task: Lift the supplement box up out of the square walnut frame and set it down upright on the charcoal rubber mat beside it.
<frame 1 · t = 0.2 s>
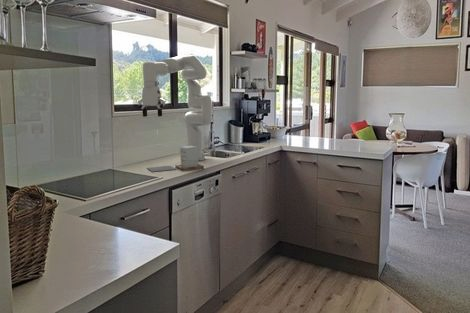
hand: (152, 116, 225), 31 cm above the worktop, tool pointing down, fingers open, 9 cm apart
rubber mat: (161, 169, 235), on the worktop
walnut frame: (189, 168, 236), on the worktop
supplement box: (189, 168, 236), resting in walnut frame
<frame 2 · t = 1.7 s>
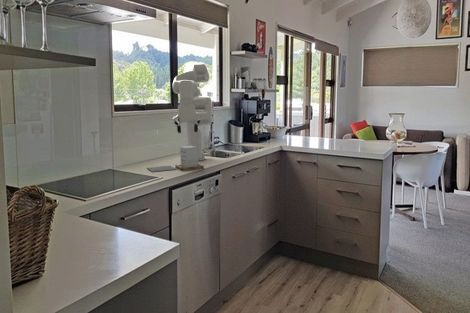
hand: (187, 132, 233), 21 cm above the worktop, tool pointing down, fingers open, 9 cm apart
nothing on the worktop moved.
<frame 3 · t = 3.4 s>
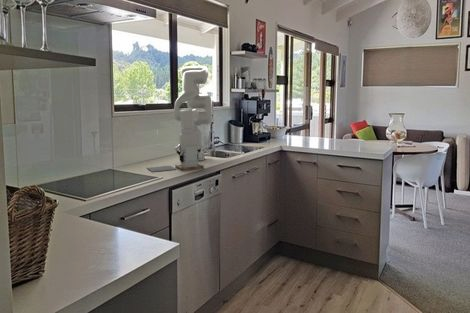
hand: (189, 161, 236), 4 cm above the worktop, tool pointing down, fingers closed on supplement box, 8 cm apart
supplement box: (189, 168, 236), resting in walnut frame, touching gripper
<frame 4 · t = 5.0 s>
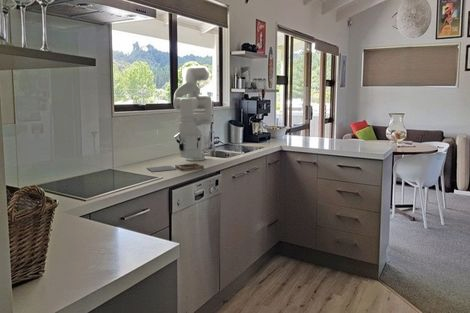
hand: (188, 149, 236), 11 cm above the worktop, tool pointing down, fingers closed on supplement box, 8 cm apart
supplement box: (189, 157, 236), point 6 cm above the worktop, touching gripper
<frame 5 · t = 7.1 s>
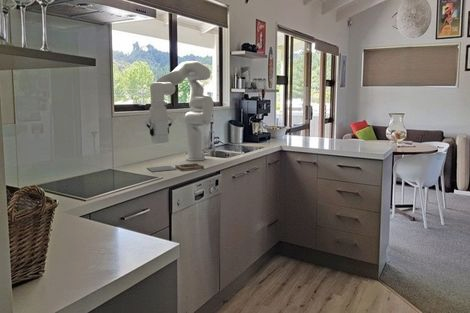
hand: (159, 135, 233), 20 cm above the worktop, tool pointing down, fingers closed on supplement box, 8 cm apart
supplement box: (160, 142, 233), point 15 cm above the worktop, touching gripper
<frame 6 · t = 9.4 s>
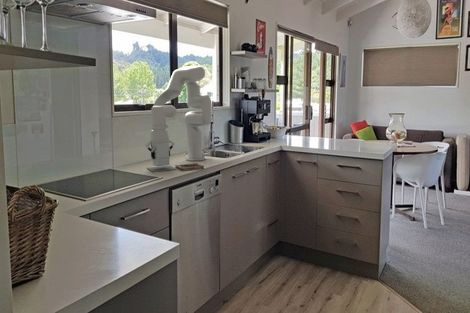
hand: (160, 158, 235), 7 cm above the worktop, tool pointing down, fingers closed on supplement box, 8 cm apart
supplement box: (161, 165, 235), point 2 cm above the worktop, touching gripper
when the fingers open (6 cm above the worktop, at t = 10.6 s): supplement box drops 1 cm, resting on rubber mat.
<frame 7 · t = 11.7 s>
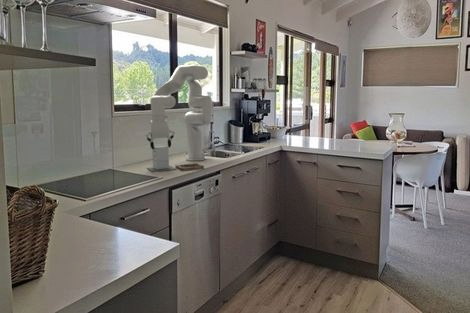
hand: (161, 147, 234), 12 cm above the worktop, tool pointing down, fingers open, 9 cm apart
supplement box: (160, 168, 236), resting on rubber mat
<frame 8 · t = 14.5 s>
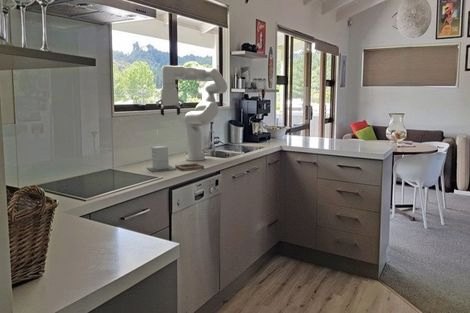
hand: (170, 115, 248), 30 cm above the worktop, tool pointing down, fingers open, 9 cm apart
nothing on the worktop moved.
at the end: supplement box inside the target area on the rubber mat (0.4 cm from its centre), point 0.3 cm above the rubber mat's base; supplement box tilted 0°; the gripper is holding nothing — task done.
